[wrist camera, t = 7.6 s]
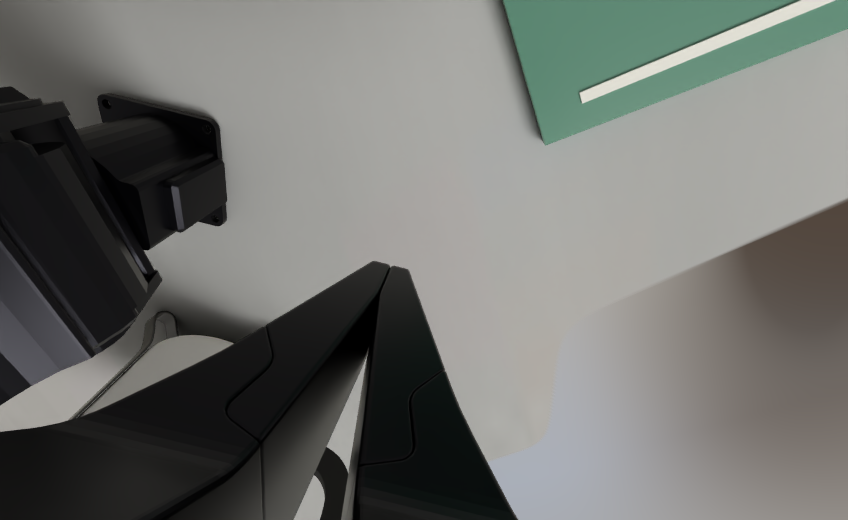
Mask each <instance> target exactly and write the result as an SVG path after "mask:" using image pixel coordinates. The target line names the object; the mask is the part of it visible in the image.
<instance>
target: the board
mask: <svg viewBox="0 0 848 520" xmlns="http://www.w3.org/2000/svg"><path fill="white" fill-rule="evenodd" d="M502 1H503V5H504V8H505V12H506V15H507V19H508V22H509V26H510V29H511V33H512V36H513V40H514V43H515V47H516V50H517V54H518V57H519V60H520V64H521V67H522V71H523V74H524V78H525V81H526V85H527V88H528V92H529V95H530V99H531V102H532V106H533V109H534V112H535V116H536V119H537V123H538V126H539V130H540V133H541V137H542V140H543V143H544V144H545V145H548V144H551V143H553V142H556V141H558V140H561V139H564V138H566V137H569V136H571V135H574V134H577V133H579V132H582V131H584V130H587V129H590V128H592V127H595V126H597V125H600V124H602V123H605V122H608V121H610V120H613V119H615V118H618V117H621V116H623V115H626V114H628V113H631V112H634V111H636V110H639V109H641V108H644V107H646V106H649V105H652V104H654V103H657V102H659V101H662V100H665V99H667V98H670V97H672V96H675V95H678V94H680V93H683V92H685V91H688V90H690V89H693V88H696V87H698V86H701V85H703V84H706V83H709V82H711V81H714V80H716V79H719V78H722V77H724V76H727V75H729V74H732V73H734V72H737V71H740V70H742V69H745V68H747V67H750V66H753V65H755V64H758V63H760V62H763V61H766V60H768V59H771V58H773V57H776V56H779V55H781V54H784V53H786V52H789V51H791V50H794V49H797V48H799V47H802V46H804V45H807V44H810V43H812V42H815V41H817V40H820V39H823V38H825V37H828V36H830V35H833V34H835V33H838V32H841V31H843V30H846V29H848V0H502Z"/></svg>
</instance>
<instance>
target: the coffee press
mask: <svg viewBox="0 0 848 520" xmlns="http://www.w3.org/2000/svg"><path fill="white" fill-rule="evenodd" d="M156 320H160V321H162V322H163V323H164V324H165V326H166V334H167V339H166V340H163V341H161V342H159V343H157V344H155V345H154V346H152V347H151V348H150V349H149V350H147V351H146V352H145V353H144V354H143V355H142V356H141V357H140V358H139V359H138V360H136V359H137V358H138V357H139V356H140V355H141V354H142V353H143V352H144V351H145V350H146V349H147V348H148V347H149V346H150V344H151V343H152V341H153V337H154V332H155V322H156ZM232 344H234V343H231V342H229V341H226V340H222V339H219V338H214V337H209V336H201V335H184V336H179V334H178V329H177V321H176V318H175V316H174V315H173V314H172V313H170V312H167V311H161V312H158V313H157V314H156V315H154V316H153V317H152V318H151V319H149V320H148V321H147V322H146V324H145V331H144V339H143V344H142V347H141V349H140V351H139V352H138V353H137V354H136V355H135V356H134V357H133V358H132V359H131V360H130V361H129V362H128V363H127V364H126V365H125V366H124V367H123V368H122V369H121V370H120V371H119V372H118V373H117V374H116V375H115V376H114V377H113V378H112V379H111V380H110V381H109V382H108V383H106V384H105V385H104V386H103V387H102V388H101V389H100V390H99V391H98V392H97V393H96V394H95V395H94V396H93V397H92V398H91V399H90V400H89V401H88V402H87V403H86V404H84V405H83V406H82V407H81V408H80V409H79V410H78V411H77V412H76V413H75V414H74V415H73V416H72V417H71V418H70V419H69V420H72V419H75V418H78V417H81V416H83V415H86V414H89V413H92V412H94V411H97V410H99V409H101V408H103V407H106V406H108V405H110V404H112V403H114V402H116V401H119V400H121V399H123V398H125V397H127V396H129V395H131V394H133V393H135V392H137V391H139V390H142V389H144V388H146V387H148V386H150V385H152V384H154V383H156V382H158V381H160V380H162V379H165V378H167V377H169V376H171V375H173V374H175V373H177V372H179V371H181V370H183V369H185V368H188V367H190V366H192V365H194V364H196V363H198V362H200V361H202V360H204V359H206V358H208V357H210V356H212V355H214V354H216V353H218V352H220V351H222V350H223V349H225V348H227V347H229V346H231V345H232ZM135 360H136V361H135ZM134 361H135V362H134ZM133 362H134V363H133ZM132 363H133V364H132ZM131 364H132V365H131ZM130 365H131V366H130ZM129 366H130V367H129ZM128 367H129V368H128ZM127 368H128V369H127ZM126 369H127V370H126ZM125 370H126V371H125ZM124 371H125V372H124ZM123 372H124V373H123ZM122 373H123V374H122ZM121 374H122V375H121ZM120 375H121V376H120ZM119 376H120V377H119ZM118 377H119V378H118ZM117 378H118V379H117ZM116 379H117V380H116ZM115 380H116V381H115ZM114 381H115V382H114ZM113 382H114V383H113ZM104 390H105V391H104ZM103 391H104V392H103ZM102 392H103V393H102ZM101 393H102V394H101ZM100 394H101V395H100ZM99 395H100V396H99ZM98 396H99V397H98ZM97 397H98V398H97ZM96 398H97V399H96ZM95 399H96V400H95ZM94 400H95V401H94ZM93 401H94V402H93ZM92 402H93V403H92ZM91 403H92V404H91ZM90 404H91V405H90ZM89 405H90V406H89ZM88 406H89V407H88ZM87 407H88V408H87ZM86 408H87V409H86ZM85 409H86V410H85ZM84 410H85V411H84ZM83 411H84V412H83ZM314 475H315V476H316V477H317V478H318V479H319V481H320V482H321V484H322V487H323V489H324V494H325V502H324V507H323V511H322V515H321V518H320V520H341V517H342V511H343V504H344V498H345V492H346V486H347V479H348V472H347V469H346V467H345V465H344V463H343V462H342V460H341V459H340V457H339V456H338V455H337V454H335V453H334V452H333V451H332V450H330V449H329V448H327V447H326V448H325V451H324V453H323V455H322V457H321V460H320V462H319V464H318V466H317V468H316V471H315V473H314Z"/></svg>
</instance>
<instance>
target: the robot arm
mask: <svg viewBox="0 0 848 520" xmlns="http://www.w3.org/2000/svg"><path fill="white" fill-rule="evenodd" d="M97 100H98V106H99V110H100V114H101V118H102V122H103V123H101V124H97V125H93V126H89V127H85V128H81V129H77V130H75V128H74V126H73V124H72V122H71V121H70V119H69V117H68V115H70V113H69V111H68V110H67V108H66V106H65V104H64V102H63V101H59V102H51V103H43V102H42V101H41V99H29V98H28V97H26V96H25V95H23V94H22V93H20V92H19V91H17V90H16V89H14V88H13V87H2V88H0V405H2V404H3V403H5V402H6V401H8V400H9V399H11V398H12V397H14V396H16V395H17V394H19V393H21V392H22V391H24V390H25V389H27V388H29V387H30V386H32V385H34V384H36V383H38V382H40V381H42V380H44V379H46V378H48V377H49V376H51V375H53V374H55V373H57V372H59V371H61V370H64V369H66V368H68V367H71V366H73V365H76V364H78V363H81V362H83V361H85V360H88V359H90V358H92V357H94V356H95V355H96V354H98V353H100V352H102V351H103V350H105V349H106V348H108V347H109V346H111V345H112V344H114V343H115V342H116V341H117V340H118V339H120V338H121V337H122V336H123V335H124V334H125V333H126V331H127V330H128V329H129V328H130V326H131V325H132V323H133V322H134V321H135V320H136V318H137V316H138V315H139V313H140V312H141V310H142V309H143V307H144V306H145V304H146V303H147V302H148V300H149V299H150V297H151V296H152V294H153V293H154V291H155V290H156V289H157V287H158V286H159V284H160V283H161V281H162V278H161V276H160V274H159V273H158V271H157V270H154V268H153V267H152V265H151V263H150V261H149V259H148V258H147V256H146V254H145V252H144V251H143V250H150V249H151V248H152V247H154V246H155V245H157V244H158V243H160V242H161V241H163V240H164V239H166V238H167V237H169V236H170V235H172V234H173V233H175V232H180V233H181V232H183V231H185V230H186V229H188V228H189V227H191V226H192V225H194V224H195V223H197V222H202V223H206V224H210V225H214V226H221V225H222V224H224V223H225V222H226V221H227V214H226V202H227V193H226V180H225V167H224V162H223V160H222V150H221V137H220V128H219V126H218V124H217V123H216V122H215V121H214V120H212V119H210V118H206V117H202V116H198V115H194V114H190V113H186V112H182V111H178V110H174V109H170V108H166V107H162V106H158V105H154V104H150V103H146V102H142V101H138V100H134V99H130V98H126V97H122V96H118V95H114V94H109V93H107V94H101V95H99V96H98V98H97ZM108 101H109V102H110V103H111V106H110V105H109V103H108ZM207 125H208V126H209V127H210V128H211V132H209V131H208V129H207V127H206V126H207ZM215 216H217V217H218V218H219V219H217V218H216V217H215ZM367 354H368V356H367ZM366 357H367V361H366V366H365V373H364V379H363V385H362V391H361V398H360V404H359V410H358V416H357V423H356V429H355V435H354V442H353V448H352V454H351V460H350V467H349V473H348V479H347V486H346V492H345V498H344V504H343V511H342V517H341V520H518V519H517V517H516V515H515V514H514V512H513V510H512V509H511V507H510V505H509V503H508V501H507V499H506V497H505V495H504V493H503V492H502V490H501V488H500V486H499V484H498V482H497V480H496V478H495V476H494V474H493V472H492V470H491V469H490V467H489V465H488V463H487V461H486V459H485V457H484V455H483V453H482V451H481V449H480V447H479V445H478V443H477V442H476V440H475V438H474V436H473V434H472V432H471V430H470V428H469V426H468V424H467V421H466V419H465V417H464V415H463V413H462V411H461V409H460V407H459V404H458V402H457V399H456V397H455V394H454V392H453V389H452V387H451V384H450V381H449V379H448V376H447V373H446V372H445V368H444V365H443V363H442V360H441V357H440V354H439V352H438V349H437V346H436V343H435V341H434V338H433V335H432V332H431V330H430V327H429V324H428V322H427V319H426V316H425V313H424V311H423V308H422V305H421V302H420V300H419V297H418V294H417V291H416V289H415V286H414V283H413V280H412V278H411V275H410V272H409V270H408V269H405V268H401V267H397V266H392V267H391V268H390V266H389V265H388V264H385V263H381V262H377V261H372V262H370V263H369V264H367V265H365V266H364V267H362V268H360V269H359V270H357V271H355V272H354V273H352V274H350V275H349V276H347V277H345V278H344V279H342V280H340V281H339V282H337V283H335V284H334V285H332V286H330V287H329V288H327V289H325V290H324V291H322V292H320V293H319V294H317V295H315V296H314V297H312V298H310V299H309V300H307V301H305V302H304V303H302V304H300V305H299V306H297V307H295V308H294V309H292V310H290V311H289V312H287V313H285V314H284V315H282V316H280V317H279V318H277V319H275V320H274V321H272V322H270V323H269V324H267V325H266V327H262V328H260V329H258V330H257V331H255V332H253V333H252V334H250V335H248V336H247V337H245V338H243V339H241V340H239V341H238V342H236V343H234V344H232V345H231V346H229V347H227V348H225V349H223V350H222V351H220V352H218V353H216V354H214V355H212V356H210V357H208V358H206V359H204V360H202V361H200V362H198V363H196V364H194V365H192V366H190V367H188V368H185V369H183V370H181V371H179V372H177V373H175V374H173V375H171V376H169V377H167V378H165V379H162V380H160V381H158V382H156V383H154V384H152V385H150V386H148V387H146V388H144V389H142V390H139V391H137V392H135V393H133V394H131V395H129V396H127V397H125V398H123V399H121V400H119V401H116V402H114V403H112V404H110V405H108V406H106V407H103V408H101V409H99V410H97V411H94V412H92V413H89V414H86V415H83V416H81V417H78V418H75V419H72V420H68V421H65V422H61V423H57V424H53V425H48V426H43V427H37V428H30V429H21V430H13V431H4V432H0V520H294V517H295V515H296V513H297V511H298V508H299V506H300V504H301V502H302V500H303V497H304V495H305V493H306V491H307V488H308V486H309V484H310V482H311V480H312V477H313V475H314V473H315V471H316V468H317V466H318V464H319V462H320V460H321V457H322V455H323V453H324V451H325V448H326V446H327V444H328V442H329V440H330V437H331V435H332V433H333V431H334V428H335V426H336V424H337V422H338V420H339V417H340V415H341V413H342V411H343V409H344V406H345V404H346V402H347V400H348V397H349V395H350V393H351V391H352V389H353V386H354V384H355V382H356V380H357V377H358V375H359V373H360V371H361V369H362V366H363V364H364V361H365V359H366Z"/></svg>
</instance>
